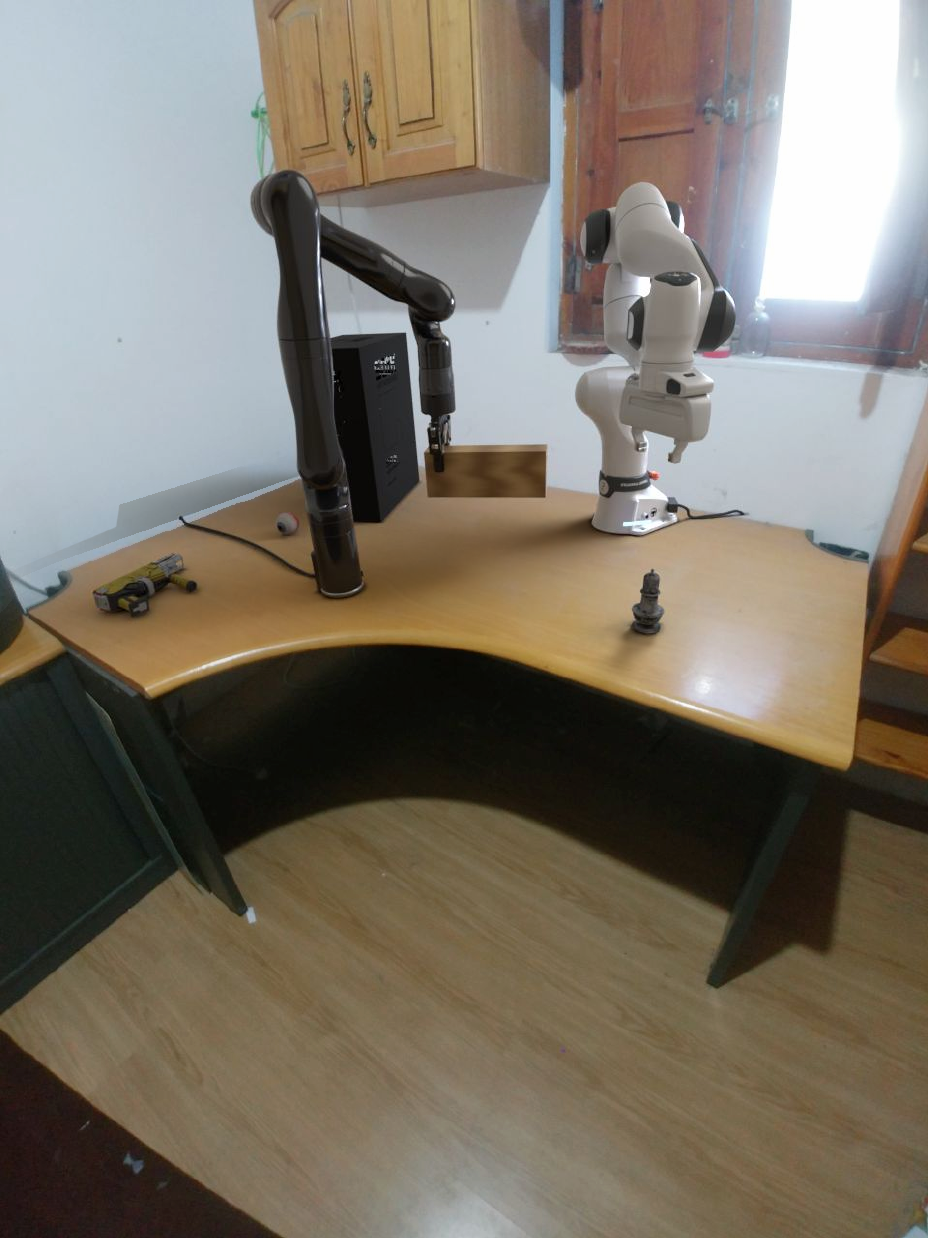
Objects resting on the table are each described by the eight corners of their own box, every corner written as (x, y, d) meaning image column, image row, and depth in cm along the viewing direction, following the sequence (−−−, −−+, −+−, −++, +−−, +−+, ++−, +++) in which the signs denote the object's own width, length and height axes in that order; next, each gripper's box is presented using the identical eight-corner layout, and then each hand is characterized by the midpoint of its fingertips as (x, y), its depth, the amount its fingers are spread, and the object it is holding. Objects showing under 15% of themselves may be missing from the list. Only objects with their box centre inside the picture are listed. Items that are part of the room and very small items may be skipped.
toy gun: (221, 561, 143) (169, 550, 147) (142, 604, 123) (85, 590, 127) (223, 579, 146) (173, 568, 149) (147, 624, 125) (91, 610, 129)
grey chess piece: (663, 635, 111) (671, 576, 105) (630, 633, 112) (636, 575, 106) (661, 619, 116) (668, 562, 110) (629, 617, 117) (635, 561, 111)
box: (546, 489, 138) (547, 444, 133) (545, 497, 133) (546, 451, 128) (432, 489, 143) (429, 445, 138) (427, 497, 138) (423, 452, 133)
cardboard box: (380, 521, 169) (358, 347, 147) (314, 519, 174) (283, 350, 151) (419, 480, 201) (406, 332, 178) (362, 479, 205) (342, 334, 183)
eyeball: (273, 537, 164) (268, 516, 161) (287, 528, 169) (282, 508, 166) (291, 539, 161) (286, 518, 158) (305, 530, 166) (301, 510, 163)
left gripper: (427, 384, 135) (432, 459, 143) (411, 395, 123) (419, 477, 131) (460, 383, 134) (463, 458, 142) (448, 395, 122) (452, 477, 130)
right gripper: (613, 373, 113) (608, 447, 120) (692, 387, 97) (681, 472, 104) (640, 369, 115) (634, 442, 122) (722, 383, 99) (709, 466, 106)
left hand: (442, 467), depth 137 cm, fingers closed on box, 6 cm apart
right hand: (656, 456), depth 113 cm, fingers open, 8 cm apart
